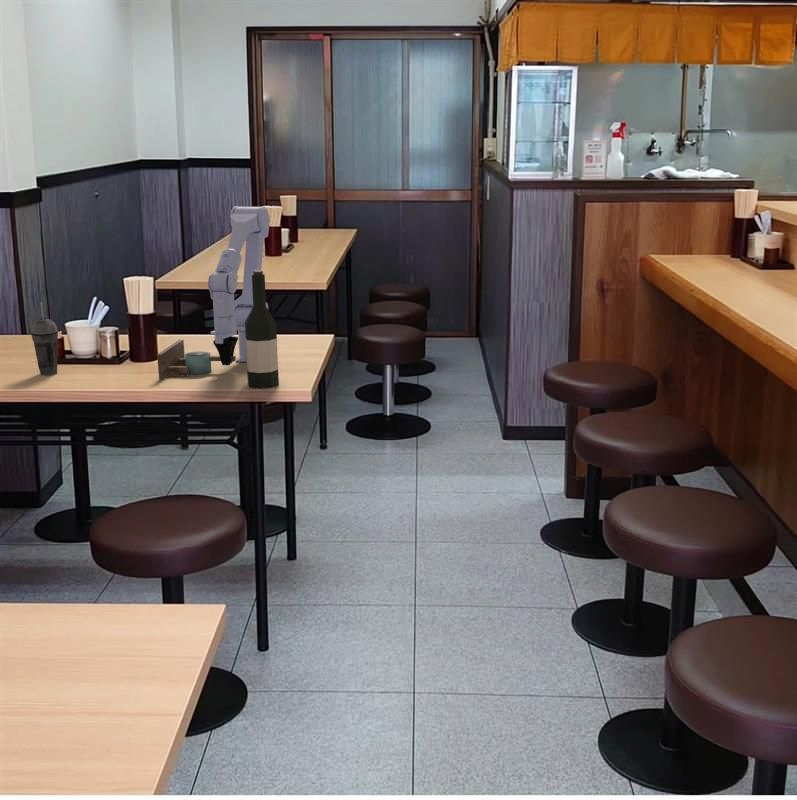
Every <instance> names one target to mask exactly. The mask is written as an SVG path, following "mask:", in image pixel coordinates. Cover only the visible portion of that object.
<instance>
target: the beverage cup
mask: <svg viewBox="0 0 797 800" xmlns="http://www.w3.org/2000/svg"><path fill="white" fill-rule="evenodd" d="M39 304H40V314H41V318H39V319H37V320H35V321H34V323H33V324H32V326H31V329H30V335H31V340H32V342H33V346H34V349H35V356H36V361H37V366H38V370H39V375H40V376H54V375H57V374H58V338H59V337H58V336H59V330H58V326H57V325H56V323H55V322H54V321H53V320H51V319H50V318H46V317H45V315H44V306H43V301H40V302H39Z"/></svg>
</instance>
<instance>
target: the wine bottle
mask: <svg viewBox="0 0 797 800" xmlns="http://www.w3.org/2000/svg"><path fill="white" fill-rule="evenodd" d="M265 278H266V277H265V273H264V271H263V270H262V269H261V270H256V271H253V274H252V292H253V306H252V307H253V308H252V310H251V311H250V313H249V315H248V317H247V319H246V321H245V338H246V357H247V362H246V372H247V385H248V387H249V388H254V389H269V388H274V387H277V386H279V385H280V382H279V380H280V379H279V361H278V360H279V358H278V337H277V335H278V334H277V333H278V332H277V321H276V320H275V319H274V317H273V315H272V314H271V312H270V311H269V308H268V309H267V307H266V303H267V297H266V294H267V293H266V279H265Z"/></svg>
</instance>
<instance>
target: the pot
mask: <svg viewBox="0 0 797 800" xmlns="http://www.w3.org/2000/svg"><path fill="white" fill-rule="evenodd" d="M184 354H185V366H188V372H189V375H205V374H204V373H206V374H209V373H208V372H210V373H211V372H212V362H221V359H220V356H219V355H211V352H209V351H202V350H198V351H197V350H196V351H191V352H187V353H184ZM236 359H237V356H236V355H233V356H231V362H232V363H234V362H236Z"/></svg>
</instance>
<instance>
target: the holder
mask: <svg viewBox="0 0 797 800" xmlns="http://www.w3.org/2000/svg"><path fill="white" fill-rule="evenodd" d="M184 342H185V341H184V339H178V340H177V341H175V342H173V343H172V344H171V345H169V346H168V347H166V348H164V349H163V350H161V351H160V352H158V353H157V354H156V355H157V369H158V380H159V379H164V380H165V379H167V378H168V377H188V376H189V375H190V374H189V372H188V366H185V354H186V353H185V343H184ZM168 375H169V376H168ZM182 375H183V376H182ZM187 375H188V376H187ZM167 376H168V377H167ZM166 377H167V378H166Z"/></svg>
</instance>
